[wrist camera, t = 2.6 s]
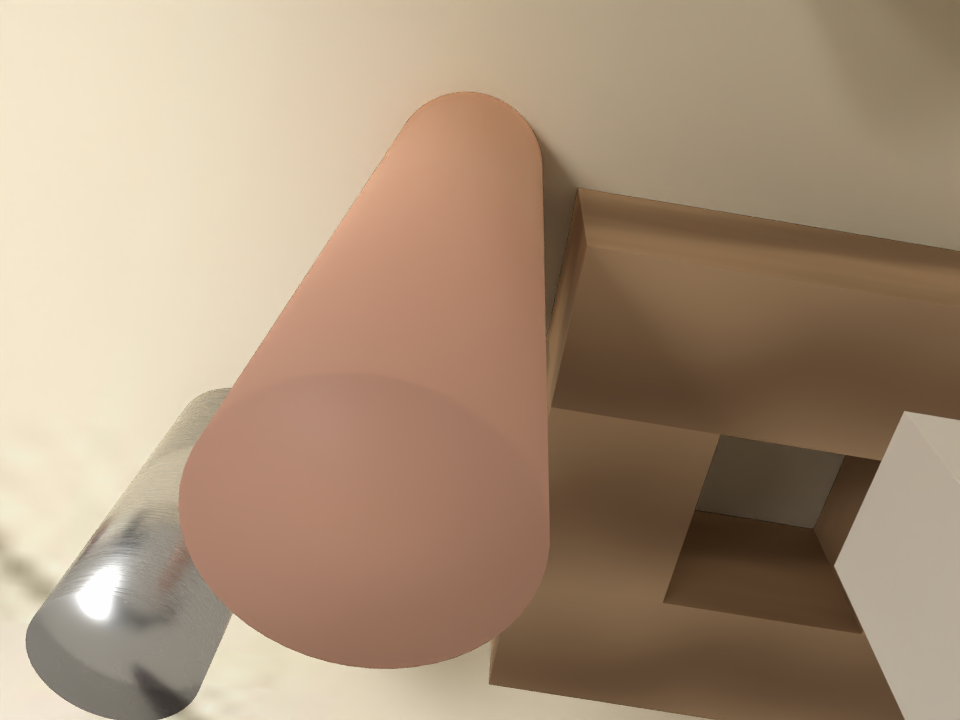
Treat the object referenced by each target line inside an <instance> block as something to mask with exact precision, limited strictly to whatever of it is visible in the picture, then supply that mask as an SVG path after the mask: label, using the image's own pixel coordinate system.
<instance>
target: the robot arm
mask: <svg viewBox="0 0 960 720" xmlns="http://www.w3.org/2000/svg"><path fill="white" fill-rule="evenodd" d="M834 567H835V569H836V571H837V574H838V576H839V578H840V580H841V582H842V584H843V587H844V589H845V591H846V593H847V595H848V598H849V600H850V602H851V604H852V606H853V608H854V611H855V613H856V615H857V617H858V619H859V621H860V624H861V626H862V628H863V630H864V632H865V634H866V637H867V639H868V641H869V643H870V645H871V647H872V650H873V652H874V654H875V656H876V658H877V660H878V663H879V665H880V667H881V669H882V671H883V673H884V676H885V678H886V680H887V682H888V684H889V686H890V689H891V691H892V693H893V695H894V697H895V699H896V702H897V704H898V706H899V708H900V710H901V712H902V715H903V717H904V719H905V720H960V420H955V419H949V418H943V417H937V416H931V415H925V414H919V413H913V412H907V411H904V413H903V415H902V417H901V419H900V422H899V424H898V426H897V428H896V430H895V433H894V435H893V437H892V439H891V441H890V444H889V446H888V448H887V450H886V452H885V455H884V457H883V459H882V461H881V463H880V466H879V468H878V470H877V472H876V475H875V477H874V479H873V481H872V483H871V486H870V488H869V490H868V492H867V494H866V497H865V499H864V501H863V503H862V505H861V508H860V510H859V512H858V514H857V516H856V519H855V521H854V523H853V525H852V527H851V530H850V532H849V534H848V536H847V538H846V541H845V543H844V545H843V547H842V550H841V552H840V554H839V556H838V558H837V561H836V563H835V565H834Z"/></svg>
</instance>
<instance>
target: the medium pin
mask: <svg viewBox="0 0 960 720" xmlns="http://www.w3.org/2000/svg"><path fill="white" fill-rule="evenodd" d="M231 389H232V388H224V389H216V390H212V391H209V392H206V393H204V394H202V395H200V396H198V397H197V398H195V399H194V400H193V401H191V402H190V403H189V404H188V406H187V407H186V408H185V409H184V411H183V412H182V413H181V415H180V416H179V418H178V419H177V420H176V422H175V423H174V424H173V426H172V427H171V429H170V430H169V431H168V433H167V434H166V435H165V437H164V438H163V440H162V441H161V442H160V444H159V445H158V446H157V448H156V449H155V451H154V452H153V453H152V455H151V456H150V458H149V459H148V460H147V462H146V463H145V464H144V466H143V467H142V469H141V470H140V471H139V473H138V474H137V475H136V477H135V478H134V480H133V481H132V482H131V484H130V485H129V486H128V488H127V489H126V491H125V492H124V493H123V495H122V496H121V497H120V499H119V500H118V502H117V503H116V504H115V506H114V507H113V508H112V510H111V511H110V513H109V514H108V515H107V517H106V518H105V519H104V521H103V522H102V524H101V525H100V526H99V528H98V529H97V530H96V532H95V533H94V535H93V536H92V537H91V539H90V540H89V541H88V543H87V544H86V546H85V547H84V548H83V550H82V551H81V552H80V554H79V555H78V557H77V558H76V559H75V561H74V562H73V563H72V565H71V566H70V568H69V569H68V570H67V572H66V573H65V574H64V576H63V577H62V579H61V580H60V581H59V583H58V584H57V586H56V587H55V588H54V590H53V591H52V592H51V594H50V595H49V597H48V598H47V599H46V601H45V602H44V603H43V605H42V606H41V608H40V609H39V610H38V612H37V613H36V614H35V616H34V617H33V619H32V620H31V622H30V624H29V626H28V629H27V633H26V649H27V653H28V657H29V659H30V662H31V664H32V666H33V668H34V669H35V671H36V673H37V674H38V675H39V677H40V678H41V679H42V680H43V681H44V682H45V683H46V685H47V686H48V687H49V688H51V689H52V690H53V691H54V692H55V693H56V694H58V695H59V696H60V697H62V698H63V699H65V700H66V701H68V702H70V703H71V704H73V705H75V706H77V707H79V708H81V709H83V710H85V711H87V712H90V713H93V714H95V715H98V716H102V717H106V718H110V719H115V720H159V719H163V718H166V717H169V716H171V715H174V714H176V713H178V712H180V711H181V710H183V709H184V708H185V707H187V706H188V705H189V704H190V703H191V702H192V701H193V699H194V698H195V697H196V695H197V693H198V691H199V689H200V687H201V684H202V682H203V680H204V678H205V675H206V673H207V671H208V668H209V666H210V664H211V662H212V659H213V657H214V655H215V653H216V650H217V648H218V646H219V644H220V641H221V639H222V637H223V634H224V632H225V630H226V628H227V625H228V623H229V621H230V619H231V616H232V614H233V612H231V611H230V610H229V609H228V608H227V607H226V606H225V605H224V604H223V603H222V602H221V601H220V600H219V599H218V598H217V597H216V595H215V594H214V593H213V591H212V590H211V589H210V588H209V586H208V585H207V584H206V583H205V581H204V580H203V578H202V577H201V575H200V573H199V572H198V570H197V568H196V567H195V565H194V563H193V561H192V559H191V557H190V554H189V552H188V550H187V547H186V545H185V541H184V538H183V534H182V530H181V527H180V518H179V509H178V502H179V487H180V482H181V478H182V474H183V469H184V467H185V464H186V462H187V459H188V457H189V455H190V452H191V450H192V449H193V447H194V445H195V444H196V442H197V441H198V439H199V438H200V436H201V434H202V433H203V431H204V430H205V428H206V427H207V425H208V424H209V422H210V421H211V419H212V418H213V416H214V415H215V413H216V412H217V410H218V409H219V407H220V406H221V404H222V402H223V401H224V399H225V398H226V396H227V395H228V393H229V392H230V390H231Z"/></svg>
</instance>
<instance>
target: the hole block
mask: <svg viewBox="0 0 960 720" xmlns="http://www.w3.org/2000/svg"><path fill="white" fill-rule="evenodd" d="M546 369H547V420H548V470H549V520H550V548H549V555H548V561H547V566H546V569H545V572H544V575H543V578H542V581H541V584H540V585H539V587H538V589H537V591H536V593H535V595H534V597H533V599H532V600H531V602H530V603H529V604H528V606H527V607H526V608H525V609H524V611H523V612H522V613H521V615H520V616H519V617H518V618H517V619H516V620H515V621H514V622H513V623H512V624H511V625H510V626H509V627H508V628H506V629H505V630H504V631H502V632H501V633H500V634H498V635H497V636H496V637H494V638H493V639H492V642H491V658H490V673H489V684H491V685H497V686H503V687H510V688H516V689H523V690H529V691H536V692H542V693H548V694H555V695H561V696H568V697H574V698H580V699H587V700H593V701H600V702H606V703H612V704H619V705H625V706H632V707H638V708H645V709H651V710H657V711H664V712H670V713H677V714H683V715H689V716H696V717H702V718H709V719H715V720H905V719H904V717H903V715H902V712H901V710H900V708H899V706H898V704H897V702H896V699H895V697H894V695H893V693H892V691H891V689H890V686H889V684H888V682H887V680H886V678H885V676H884V673H883V671H882V669H881V667H880V665H879V663H878V660H877V658H876V656H875V654H874V652H873V650H872V647H871V645H870V643H869V641H868V639H867V637H866V634H865V632H864V630H863V628H862V626H861V624H860V621H859V619H858V617H857V615H856V613H855V611H854V608H853V606H852V604H851V602H850V600H849V598H848V595H847V593H846V591H845V589H844V587H843V584H842V582H841V580H840V578H839V576H838V574H837V571H836V569H835V567H834V565H835V563H836V561H837V558H838V556H839V554H840V552H841V550H842V547H843V545H844V543H845V541H846V538H847V536H848V534H849V532H850V530H851V527H852V525H853V523H854V521H855V519H856V516H857V514H858V512H859V510H860V508H861V505H862V503H863V501H864V499H865V497H866V494H867V492H868V490H869V488H870V486H871V483H872V481H873V479H874V477H875V475H876V472H877V470H878V468H879V466H880V463H881V461H882V459H883V457H884V455H885V452H886V450H887V448H888V446H889V444H890V441H891V439H892V437H893V435H894V433H895V430H896V428H897V426H898V424H899V422H900V419H901V417H902V415H903V413H904V411H907V412H913V413H919V414H925V415H931V416H937V417H943V418H949V419H955V420H960V251H955V250H949V249H943V248H937V247H931V246H925V245H919V244H913V243H907V242H901V241H895V240H889V239H883V238H876V237H870V236H864V235H858V234H852V233H846V232H840V231H834V230H828V229H822V228H816V227H810V226H804V225H798V224H792V223H786V222H780V221H774V220H768V219H762V218H756V217H750V216H744V215H738V214H732V213H726V212H720V211H714V210H708V209H702V208H696V207H690V206H684V205H678V204H672V203H666V202H660V201H654V200H648V199H642V198H636V197H630V196H624V195H618V194H612V193H606V192H600V191H594V190H588V189H582V188H578V191H577V196H576V201H575V205H574V210H573V215H572V220H571V224H570V229H569V234H568V238H567V243H566V248H565V253H564V257H563V262H562V267H561V272H560V276H559V281H558V286H557V291H556V295H555V300H554V305H553V309H552V314H551V319H550V324H549V328H548V333H547V338H546ZM720 435H726V436H732V437H738V438H744V439H750V440H757V441H763V442H769V443H775V444H781V445H788V446H794V447H800V448H806V449H812V450H819V451H825V452H831V453H837V454H843V455H846V457H845V459H844V461H843V463H842V466H841V468H840V470H839V473H838V475H837V477H836V480H835V482H834V484H833V486H832V489H831V491H830V493H829V496H828V498H827V500H826V502H825V505H824V507H823V509H822V512H821V514H820V516H819V519H818V521H817V523H816V525H815V528H814V529H808V528H802V527H795V526H789V525H783V524H777V523H770V522H764V521H758V520H752V519H745V518H739V517H733V516H727V515H720V514H714V513H708V512H702V511H695V507H696V504H697V502H698V499H699V496H700V493H701V490H702V487H703V484H704V481H705V478H706V475H707V472H708V470H709V467H710V464H711V461H712V458H713V455H714V452H715V449H716V446H717V443H718V441H719V438H720Z"/></svg>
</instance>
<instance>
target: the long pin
mask: <svg viewBox="0 0 960 720" xmlns="http://www.w3.org/2000/svg"><path fill="white" fill-rule="evenodd" d="M178 509H179V518H180V527H181V530H182V534H183V538H184V541H185V545H186V547H187V550H188V552H189V554H190V557H191V559H192V561H193V563H194V565H195V567H196V568H197V570H198V572H199V573H200V575H201V577H202V578H203V580H204V581H205V583H206V584H207V585H208V586H209V588H210V589H211V590H212V591H213V593H214V594H215V595H216V597H217V598H218V599H219V600H220V601H221V602H222V603H223V604H224V605H225V606H226V607H227V608H228V609H229V610H230V611H231V612H233V613H234V614H235V615H236V616H238V617H239V618H240V619H241V620H243V621H244V622H245V623H246V624H248V625H249V626H250V627H252V628H254V629H255V630H257V631H258V632H260V633H261V634H263V635H264V636H266V637H268V638H270V639H271V640H273V641H275V642H277V643H279V644H281V645H283V646H285V647H287V648H290V649H292V650H295V651H297V652H300V653H302V654H305V655H307V656H311V657H314V658H317V659H321V660H324V661H327V662H332V663H337V664H342V665H347V666H354V667H363V668H378V669H396V668H408V667H417V666H423V665H428V664H434V663H438V662H441V661H445V660H448V659H451V658H455V657H457V656H460V655H462V654H465V653H467V652H469V651H472V650H474V649H476V648H478V647H479V646H481V645H483V644H485V643H487V642H488V641H490V640H492V639H493V638H494V637H496V636H497V635H498V634H500V633H501V632H502V631H504V630H505V629H506V628H508V627H509V626H510V625H511V624H512V623H513V622H514V621H515V620H516V619H517V618H518V617H519V616H520V615H521V613H522V612H523V611H524V609H525V608H526V607H527V606H528V604H529V603H530V602H531V600H532V599H533V597H534V595H535V593H536V591H537V589H538V587H539V585H540V584H541V581H542V578H543V575H544V572H545V569H546V566H547V561H548V555H549V548H550V520H549V470H548V420H547V369H546V319H545V269H544V218H543V168H542V156H541V151H540V147H539V144H538V141H537V139H536V136H535V134H534V132H533V131H532V129H531V127H530V126H529V124H528V123H527V122H526V120H525V119H524V118H523V117H522V116H521V115H520V114H519V113H518V112H517V111H516V110H515V109H513V108H512V107H511V106H509V105H508V104H507V103H505V102H503V101H501V100H499V99H497V98H494V97H492V96H489V95H486V94H481V93H475V92H457V93H451V94H447V95H443V96H440V97H438V98H436V99H434V100H431V101H429V102H428V103H426V104H425V105H423V106H422V107H421V108H420V109H418V110H417V111H416V112H415V113H414V114H413V115H412V116H411V117H410V119H409V120H408V121H407V122H406V124H405V125H404V127H403V128H402V130H401V132H400V133H399V135H398V136H397V138H396V139H395V141H394V142H393V144H392V145H391V147H390V148H389V150H388V151H387V153H386V154H385V156H384V157H383V159H382V160H381V162H380V163H379V165H378V167H377V168H376V170H375V171H374V173H373V174H372V176H371V177H370V179H369V180H368V182H367V183H366V185H365V186H364V188H363V189H362V191H361V192H360V194H359V195H358V197H357V198H356V200H355V202H354V203H353V205H352V206H351V208H350V209H349V211H348V212H347V214H346V215H345V217H344V218H343V220H342V221H341V223H340V224H339V226H338V227H337V229H336V230H335V232H334V234H333V235H332V237H331V238H330V240H329V241H328V243H327V244H326V246H325V247H324V249H323V250H322V252H321V253H320V255H319V256H318V258H317V259H316V261H315V262H314V264H313V265H312V267H311V269H310V270H309V272H308V273H307V275H306V276H305V278H304V279H303V281H302V282H301V284H300V285H299V287H298V288H297V290H296V291H295V293H294V294H293V296H292V297H291V299H290V300H289V302H288V304H287V305H286V307H285V308H284V310H283V311H282V313H281V314H280V316H279V317H278V319H277V320H276V322H275V323H274V325H273V326H272V328H271V329H270V331H269V332H268V334H267V336H266V337H265V339H264V340H263V342H262V343H261V345H260V346H259V348H258V349H257V351H256V352H255V354H254V355H253V357H252V358H251V360H250V361H249V363H248V364H247V366H246V367H245V369H244V371H243V372H242V374H241V375H240V377H239V378H238V380H237V381H236V383H235V384H234V386H233V387H232V389H231V390H230V392H229V393H228V395H227V396H226V398H225V399H224V401H223V402H222V404H221V406H220V407H219V409H218V410H217V412H216V413H215V415H214V416H213V418H212V419H211V421H210V422H209V424H208V425H207V427H206V428H205V430H204V431H203V433H202V434H201V436H200V438H199V439H198V441H197V442H196V444H195V445H194V447H193V449H192V450H191V452H190V455H189V457H188V459H187V462H186V464H185V467H184V469H183V474H182V478H181V482H180V487H179V502H178Z"/></svg>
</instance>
